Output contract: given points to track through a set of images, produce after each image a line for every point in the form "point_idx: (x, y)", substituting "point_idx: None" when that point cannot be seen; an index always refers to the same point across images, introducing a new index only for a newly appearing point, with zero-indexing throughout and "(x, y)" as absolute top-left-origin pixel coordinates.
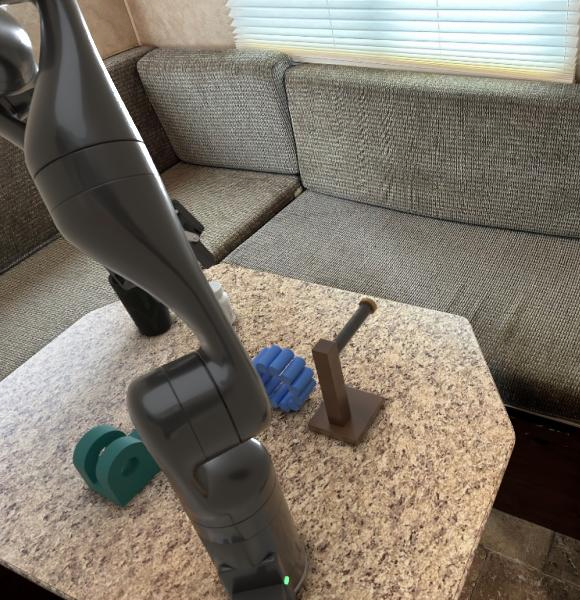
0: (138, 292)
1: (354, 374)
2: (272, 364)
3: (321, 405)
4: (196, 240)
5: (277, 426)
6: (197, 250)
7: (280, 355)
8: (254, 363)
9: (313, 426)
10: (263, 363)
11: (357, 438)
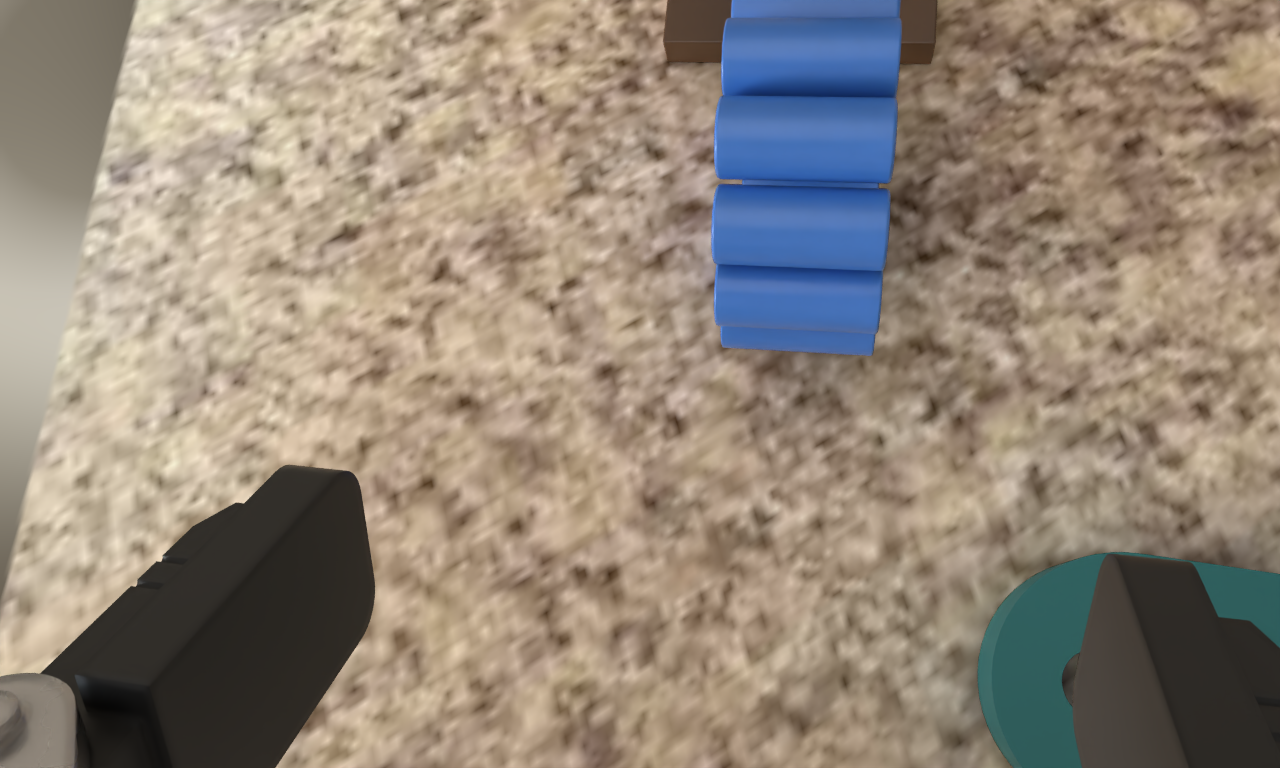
0: None
1: (570, 37)
2: (879, 47)
3: None
4: (44, 693)
5: (965, 200)
6: (215, 662)
7: (795, 41)
8: (869, 205)
9: (936, 16)
10: (887, 105)
11: None
